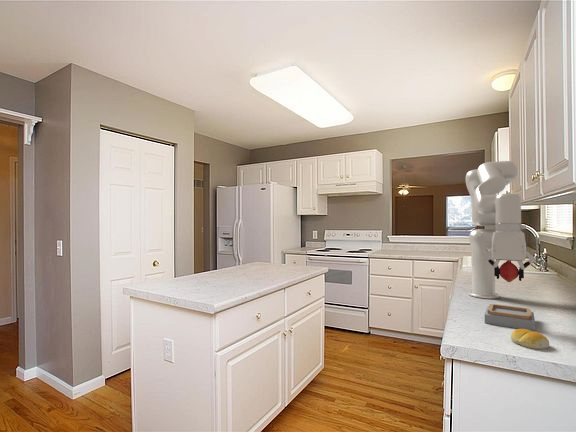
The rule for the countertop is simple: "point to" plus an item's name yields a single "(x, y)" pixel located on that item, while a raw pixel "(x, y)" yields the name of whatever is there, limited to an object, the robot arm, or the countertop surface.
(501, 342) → the countertop surface
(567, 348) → the countertop surface
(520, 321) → the stand
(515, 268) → the pomegranate
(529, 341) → the bread roll
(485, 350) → the countertop surface
